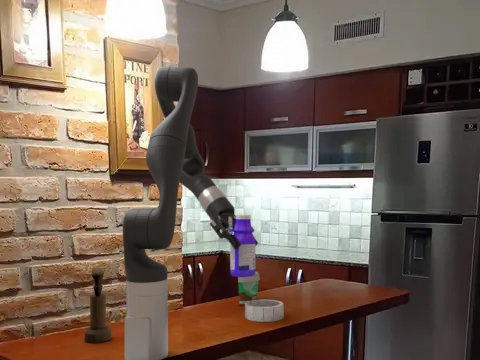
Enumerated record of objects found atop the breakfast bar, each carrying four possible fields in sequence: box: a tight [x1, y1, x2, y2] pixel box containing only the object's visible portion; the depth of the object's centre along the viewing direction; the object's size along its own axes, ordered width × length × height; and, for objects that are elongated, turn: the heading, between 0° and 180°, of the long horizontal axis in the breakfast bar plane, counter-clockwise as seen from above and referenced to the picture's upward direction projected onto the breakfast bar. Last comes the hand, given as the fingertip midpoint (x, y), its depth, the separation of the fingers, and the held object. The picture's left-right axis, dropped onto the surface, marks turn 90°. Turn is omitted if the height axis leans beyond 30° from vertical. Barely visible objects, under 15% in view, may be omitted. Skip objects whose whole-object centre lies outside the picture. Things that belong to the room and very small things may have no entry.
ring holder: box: [244, 299, 285, 323], centre depth 150 cm, size 11×11×4 cm
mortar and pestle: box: [84, 267, 113, 344], centre depth 129 cm, size 7×6×18 cm
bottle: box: [229, 214, 256, 278], centre depth 144 cm, size 7×6×17 cm
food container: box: [237, 271, 261, 307], centre depth 170 cm, size 12×6×10 cm, turn 168°
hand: (247, 246), depth 143 cm, fingers closed on bottle, 7 cm apart
